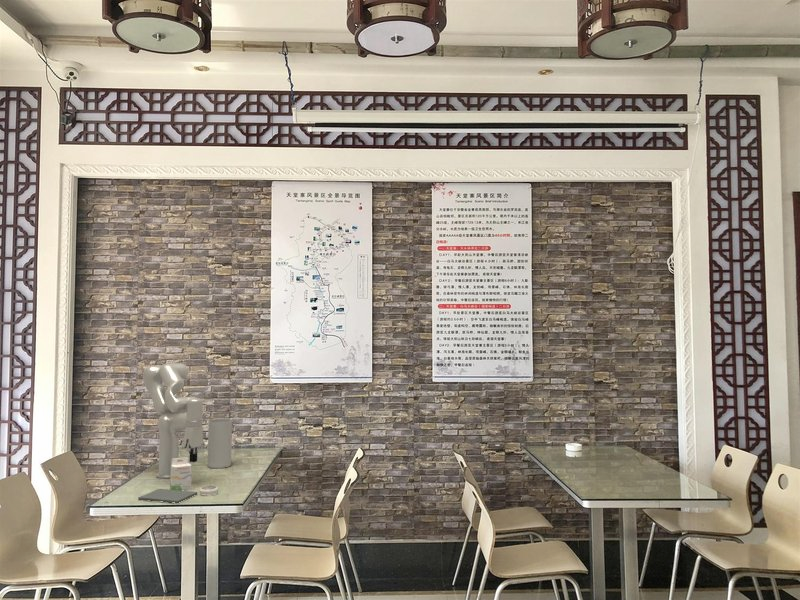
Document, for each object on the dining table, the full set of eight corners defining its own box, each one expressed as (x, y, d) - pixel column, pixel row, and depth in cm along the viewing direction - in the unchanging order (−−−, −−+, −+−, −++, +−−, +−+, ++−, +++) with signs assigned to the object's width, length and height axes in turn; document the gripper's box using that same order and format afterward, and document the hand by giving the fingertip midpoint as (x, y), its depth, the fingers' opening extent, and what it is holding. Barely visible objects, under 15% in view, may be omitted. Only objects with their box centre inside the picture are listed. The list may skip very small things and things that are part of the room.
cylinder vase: (234, 463, 342) (235, 419, 343) (225, 469, 329) (226, 422, 330) (213, 463, 343) (214, 418, 344) (203, 468, 331) (204, 422, 332)
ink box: (172, 492, 283) (173, 460, 284) (169, 490, 287) (170, 458, 288) (191, 489, 288) (192, 458, 289) (188, 487, 292) (189, 456, 293)
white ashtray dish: (205, 490, 287) (205, 484, 287) (220, 491, 285) (221, 486, 285) (196, 495, 279) (196, 489, 279) (211, 496, 277) (211, 490, 277)
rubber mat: (159, 491, 285) (159, 488, 285) (197, 494, 280) (197, 492, 280) (138, 500, 270) (138, 497, 270) (177, 503, 265) (177, 501, 265)
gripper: (196, 421, 307) (195, 458, 306) (178, 425, 292) (177, 464, 291) (209, 422, 305) (208, 458, 304) (192, 426, 290) (191, 465, 290)
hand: (193, 461), depth 298 cm, fingers closed
